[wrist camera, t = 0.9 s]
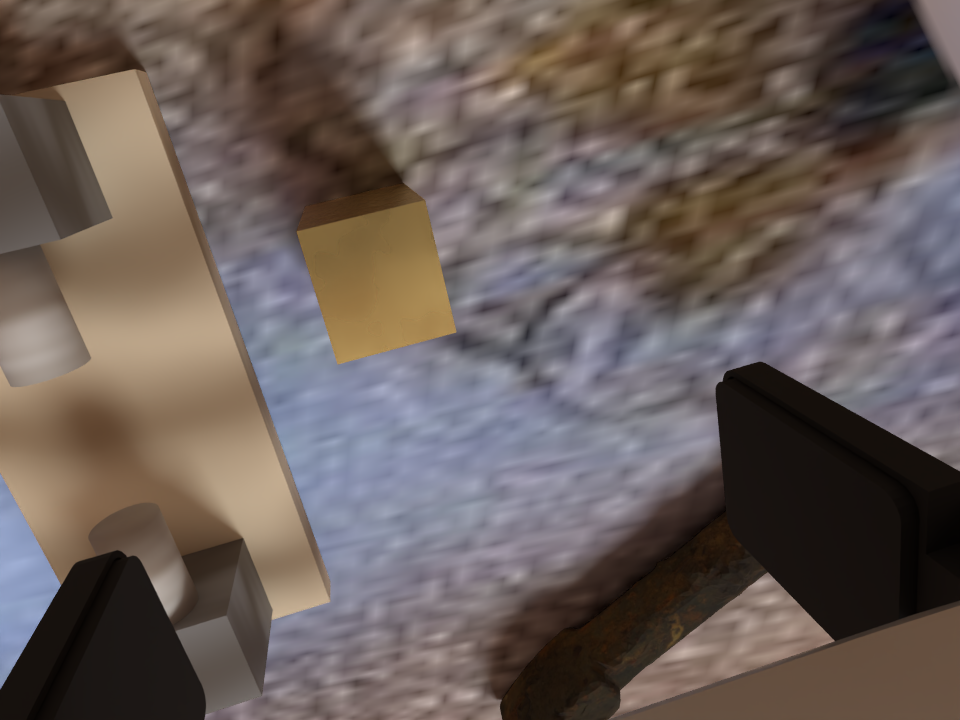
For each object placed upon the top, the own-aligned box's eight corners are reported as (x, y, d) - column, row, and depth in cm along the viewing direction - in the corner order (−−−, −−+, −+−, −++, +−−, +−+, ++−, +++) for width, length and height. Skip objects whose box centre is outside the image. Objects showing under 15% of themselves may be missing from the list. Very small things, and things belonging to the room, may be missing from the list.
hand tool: (754, 458, 36) (811, 504, 31) (785, 508, 37) (844, 557, 33) (469, 670, 36) (486, 742, 32) (511, 710, 38) (532, 784, 34)
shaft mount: (-152, 135, 23) (-323, 138, 17) (146, 72, 24) (84, 54, 18) (117, 646, 31) (66, 770, 25) (330, 581, 32) (329, 684, 26)
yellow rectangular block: (305, 206, 27) (296, 231, 20) (402, 182, 27) (425, 200, 21) (336, 310, 28) (337, 364, 22) (428, 286, 29) (456, 332, 22)
